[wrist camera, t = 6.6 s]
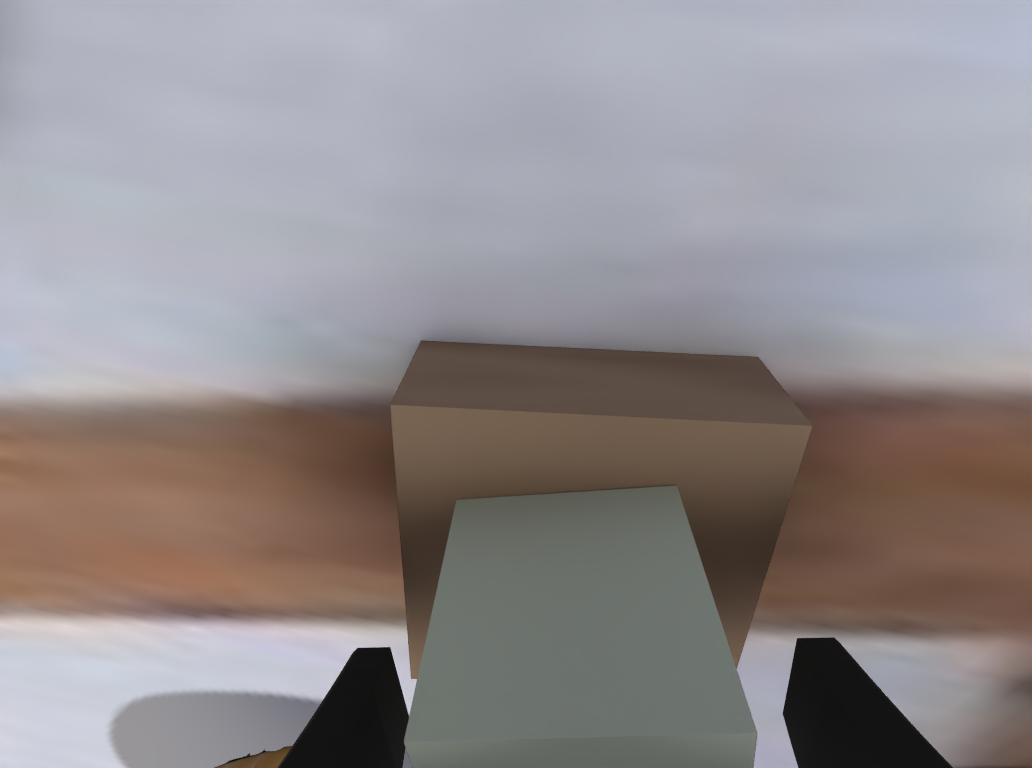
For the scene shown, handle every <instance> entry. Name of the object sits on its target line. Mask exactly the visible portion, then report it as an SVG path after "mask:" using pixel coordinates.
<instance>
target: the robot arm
mask: <svg viewBox="0 0 1032 768" xmlns="http://www.w3.org/2000/svg"><path fill="white" fill-rule="evenodd" d="M783 716H784V719H785V723H786V726H787V730H788V733H789V737H790V741H791V744H792V748H793V751H794V754H795V757H796V761H797V764H798V767H799V768H953V767H952V766H951V765H950V764H949V763H948V762H947V761H946V760H945V759H944V758H943V757H942V756H941V755H940V754H939V753H938V752H937V751H936V750H935V748H934V747H933V746H932V745H931V744H930V743H929V742H928V741H927V740H926V739H925V738H924V737H923V736H922V735H921V734H920V733H919V731H918V730H917V729H916V728H915V727H914V726H913V725H912V724H911V723H910V722H909V721H908V719H907V718H906V717H905V716H904V715H903V714H902V713H901V712H900V711H899V709H898V708H897V707H896V706H895V705H894V704H893V703H892V702H891V701H890V700H889V698H888V697H887V696H886V695H885V694H884V693H883V692H882V691H881V689H880V688H879V687H878V686H877V685H876V684H875V683H874V682H873V680H872V679H871V678H870V677H869V676H868V675H867V674H866V672H865V671H864V670H863V669H862V668H861V667H860V666H859V664H858V663H857V662H856V661H855V660H854V659H853V657H852V656H851V655H850V654H849V653H848V652H847V651H846V649H845V648H844V647H843V646H842V645H841V644H840V643H839V642H838V641H837V640H836V639H835V638H797V642H796V647H795V653H794V658H793V663H792V668H791V673H790V679H789V684H788V689H787V694H786V700H785V705H784V710H783ZM408 720H409V715H408V712H407V708H406V704H405V701H404V697H403V693H402V689H401V686H400V682H399V678H398V675H397V671H396V667H395V664H394V660H393V656H392V652H391V649H390V647H381V648H357V649H356V650H355V651H354V652H353V653H352V655H351V657H350V658H349V660H348V662H347V663H346V665H345V666H344V668H343V670H342V671H341V673H340V674H339V676H338V678H337V679H336V681H335V682H334V684H333V686H332V687H331V689H330V690H329V692H328V693H327V695H326V697H325V698H324V700H323V701H322V703H321V704H320V706H319V707H318V709H317V711H316V712H315V713H314V715H313V716H312V718H311V719H310V721H309V723H308V724H307V726H306V727H305V729H304V730H303V732H302V733H301V734H300V736H299V737H298V739H297V740H296V742H295V743H294V745H293V746H292V747H291V749H290V750H289V752H288V753H287V755H286V756H285V758H284V759H283V760H282V762H281V763H280V765H279V766H278V768H402V766H403V760H404V753H405V744H404V738H405V734H406V729H407V725H408Z"/></svg>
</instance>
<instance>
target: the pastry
mask: <svg viewBox="0 0 1032 768" xmlns="http://www.w3.org/2000/svg"><path fill="white" fill-rule="evenodd" d="M291 747H292V746H286V747H283V748H282V749H280V750H278V751H265V750H263V751H262V752H261V753H259V754H256V755H250V753H249V754H248V755H247V756H244V757H241V758H237V759H233V760H230V761H228V762H227V763H225V764H223V765H220V766H218V767H215V768H278V766H279V765H280V763H281V762H282V760H283V759H284V758H285V756H286V755H287V753H288V752H289V750H290V749H291Z"/></svg>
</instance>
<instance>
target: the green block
mask: <svg viewBox="0 0 1032 768" xmlns="http://www.w3.org/2000/svg"><path fill="white" fill-rule="evenodd" d="M756 740H757V731H756V728H755V725H754V722H753V719H752V716H751V712H750V709H749V706H748V703H747V700H746V697H745V694H744V691H743V688H742V685H741V682H740V679H739V676H738V672H737V669H736V666H735V663H734V660H733V657H732V654H731V651H730V648H729V645H728V642H727V639H726V635H725V632H724V629H723V626H722V623H721V620H720V617H719V614H718V611H717V608H716V605H715V602H714V598H713V595H712V592H711V589H710V586H709V583H708V580H707V577H706V574H705V571H704V568H703V565H702V562H701V558H700V555H699V552H698V549H697V546H696V543H695V540H694V537H693V534H692V531H691V528H690V525H689V521H688V518H687V515H686V512H685V509H684V506H683V503H682V500H681V497H680V494H679V491H678V488H677V485H675V486H660V487H644V488H629V489H613V490H598V491H583V492H567V493H552V494H537V495H521V496H506V497H491V498H475V499H460V500H456V504H455V508H454V513H453V517H452V522H451V527H450V531H449V536H448V540H447V545H446V550H445V554H444V559H443V563H442V568H441V573H440V577H439V582H438V586H437V591H436V596H435V600H434V605H433V609H432V614H431V619H430V623H429V628H428V632H427V637H426V642H425V646H424V651H423V655H422V660H421V665H420V669H419V674H418V678H417V683H416V688H415V692H414V697H413V702H412V706H411V711H410V715H409V720H408V725H407V729H406V734H405V738H404V744H405V747H406V750H407V753H408V756H409V759H410V762H411V765H412V768H753V766H754V757H755V749H756Z"/></svg>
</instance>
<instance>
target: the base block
mask: <svg viewBox="0 0 1032 768" xmlns="http://www.w3.org/2000/svg"><path fill="white" fill-rule="evenodd" d="M390 409H391V422H392V435H393V448H394V461H395V474H396V487H397V500H398V513H399V527H400V540H401V553H402V566H403V579H404V592H405V605H406V618H407V631H408V644H409V657H410V670H411V679H417V678H418V674H419V669H420V665H421V660H422V655H423V651H424V646H425V642H426V637H427V632H428V628H429V623H430V619H431V614H432V609H433V605H434V600H435V596H436V591H437V586H438V582H439V577H440V573H441V568H442V563H443V559H444V554H445V550H446V545H447V540H448V536H449V531H450V527H451V522H452V517H453V513H454V508H455V504H456V500H460V499H475V498H491V497H506V496H521V495H537V494H552V493H567V492H583V491H598V490H613V489H629V488H644V487H660V486H675V485H677V488H678V491H679V494H680V497H681V500H682V503H683V506H684V509H685V512H686V515H687V518H688V521H689V525H690V528H691V531H692V534H693V537H694V540H695V543H696V546H697V549H698V552H699V555H700V558H701V562H702V565H703V568H704V571H705V574H706V577H707V580H708V583H709V586H710V589H711V592H712V595H713V598H714V602H715V605H716V608H717V611H718V614H719V617H720V620H721V623H722V626H723V629H724V632H725V635H726V639H727V642H728V645H729V648H730V651H731V654H732V657H733V660H734V663H735V666H736V669H737V666H738V662H739V659H740V656H741V653H742V650H743V646H744V643H745V640H746V637H747V634H748V630H749V627H750V624H751V621H752V618H753V614H754V611H755V608H756V605H757V602H758V599H759V595H760V592H761V589H762V586H763V583H764V579H765V576H766V573H767V570H768V567H769V563H770V560H771V557H772V554H773V551H774V548H775V544H776V541H777V538H778V535H779V532H780V528H781V525H782V522H783V519H784V516H785V512H786V509H787V506H788V503H789V500H790V497H791V493H792V490H793V487H794V484H795V481H796V477H797V474H798V471H799V468H800V465H801V461H802V458H803V455H804V452H805V449H806V445H807V442H808V439H809V436H810V433H811V430H812V425H811V423H810V422H809V421H808V419H807V418H806V417H805V416H804V414H803V413H802V412H801V411H800V409H799V408H798V407H797V406H796V404H795V403H794V402H793V401H792V399H791V398H790V397H789V395H788V394H787V393H786V392H785V390H784V389H783V388H782V387H781V385H780V384H779V383H778V382H777V380H776V379H775V378H774V376H773V375H772V374H771V373H770V371H769V370H768V369H767V368H766V366H765V365H764V364H763V363H762V361H761V360H760V359H759V357H749V356H728V355H707V354H686V353H665V352H644V351H624V350H603V349H582V348H561V347H540V346H520V345H499V344H478V343H457V342H436V341H421V342H420V344H419V346H418V348H417V350H416V352H415V354H414V356H413V359H412V361H411V363H410V365H409V367H408V369H407V371H406V373H405V375H404V377H403V379H402V381H401V383H400V385H399V388H398V390H397V392H396V394H395V396H394V398H393V400H392V402H391V404H390Z"/></svg>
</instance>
